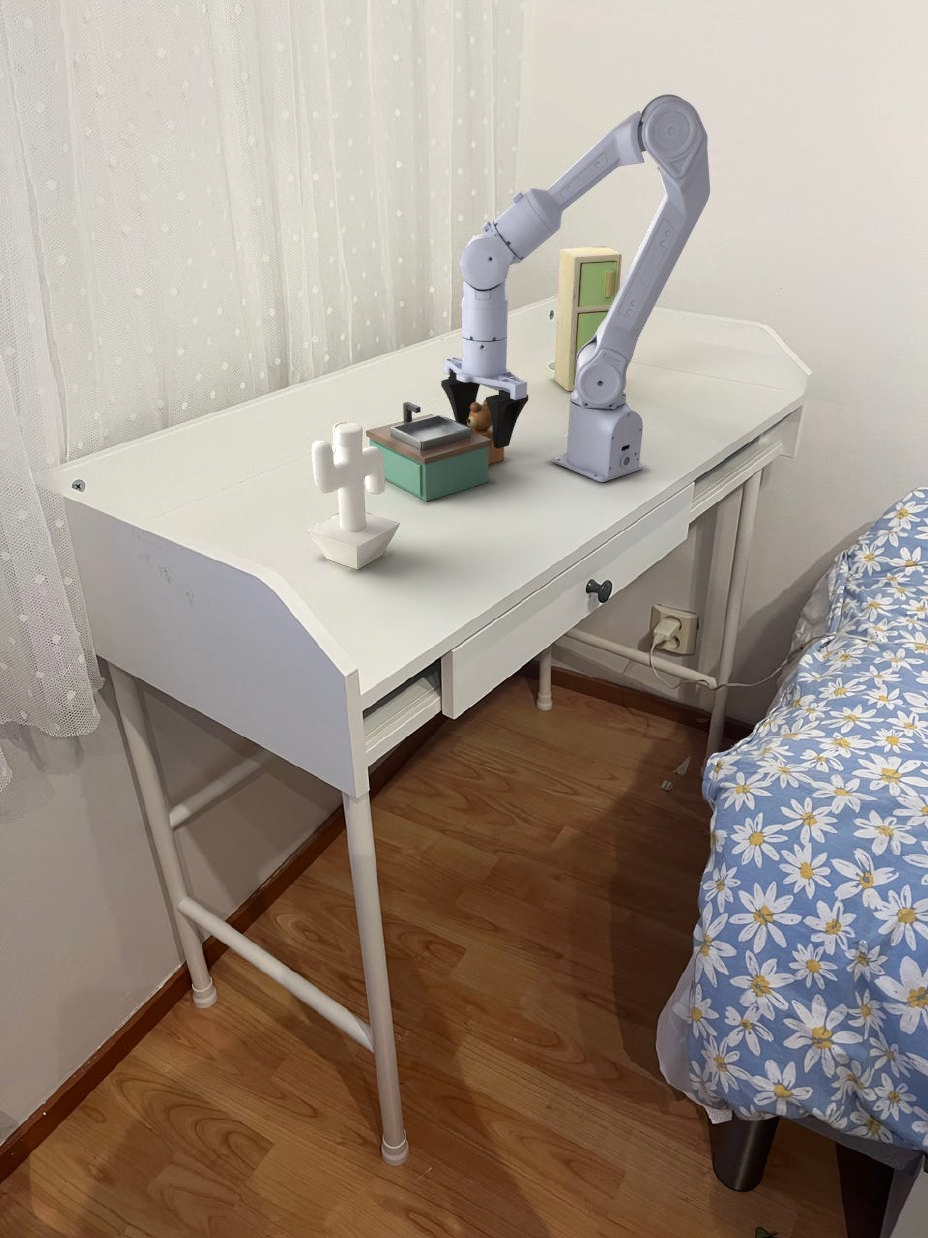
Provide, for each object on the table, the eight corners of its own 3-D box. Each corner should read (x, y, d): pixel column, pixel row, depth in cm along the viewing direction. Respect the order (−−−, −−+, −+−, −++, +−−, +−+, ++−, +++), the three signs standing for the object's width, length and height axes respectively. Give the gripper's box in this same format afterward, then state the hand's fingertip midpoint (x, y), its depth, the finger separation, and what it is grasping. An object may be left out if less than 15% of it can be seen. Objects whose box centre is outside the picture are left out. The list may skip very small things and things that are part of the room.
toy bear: (503, 459, 132) (505, 400, 127) (475, 468, 129) (475, 407, 125) (486, 452, 134) (487, 393, 130) (458, 460, 131) (458, 400, 127)
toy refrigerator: (568, 393, 157) (576, 256, 146) (552, 380, 163) (559, 247, 152) (614, 389, 159) (625, 254, 148) (596, 376, 165) (606, 245, 154)
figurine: (407, 549, 108) (404, 419, 100) (351, 582, 101) (343, 445, 94) (358, 533, 112) (351, 406, 104) (300, 563, 105) (288, 430, 97)
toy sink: (491, 482, 125) (492, 415, 120) (421, 504, 119) (419, 435, 114) (432, 454, 133) (431, 391, 129) (363, 473, 127) (360, 408, 123)
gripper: (424, 329, 126) (426, 430, 133) (497, 353, 116) (495, 460, 123) (467, 321, 130) (466, 419, 137) (541, 343, 120) (536, 448, 127)
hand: (483, 438), depth 130 cm, fingers open, 7 cm apart
